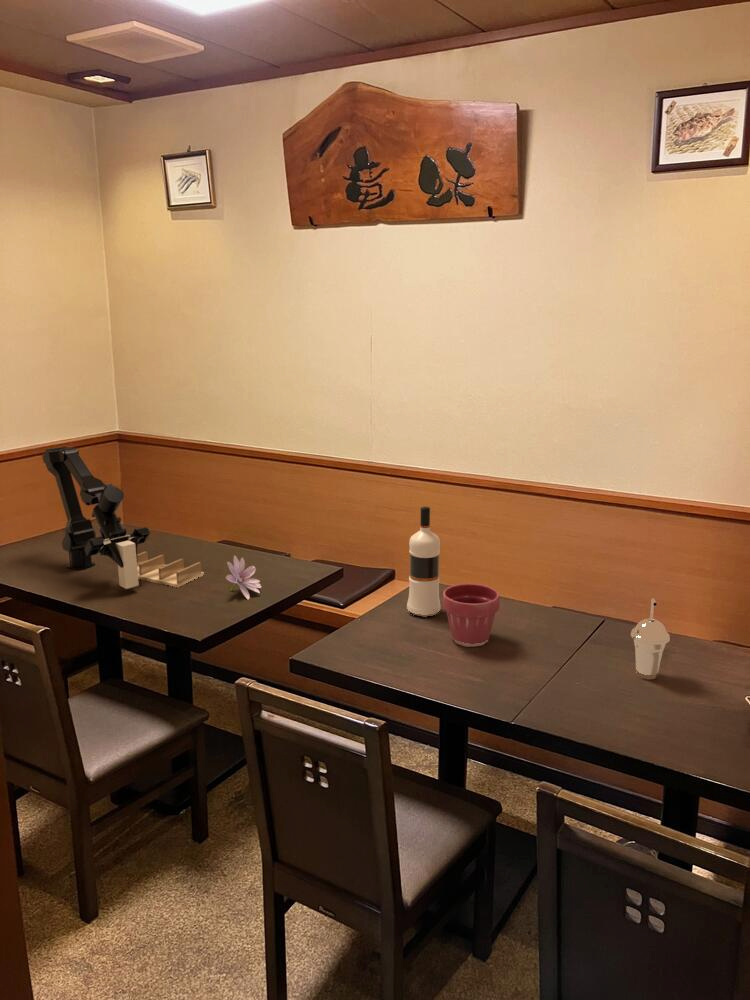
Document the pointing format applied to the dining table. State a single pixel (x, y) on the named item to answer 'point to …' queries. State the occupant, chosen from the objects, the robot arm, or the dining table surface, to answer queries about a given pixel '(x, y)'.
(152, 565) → the drying rack
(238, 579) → the water lily
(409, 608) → the vodka
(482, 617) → the plant pot
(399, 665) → the dining table surface
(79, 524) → the robot arm
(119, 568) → the clay bar
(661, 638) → the cup with straw
